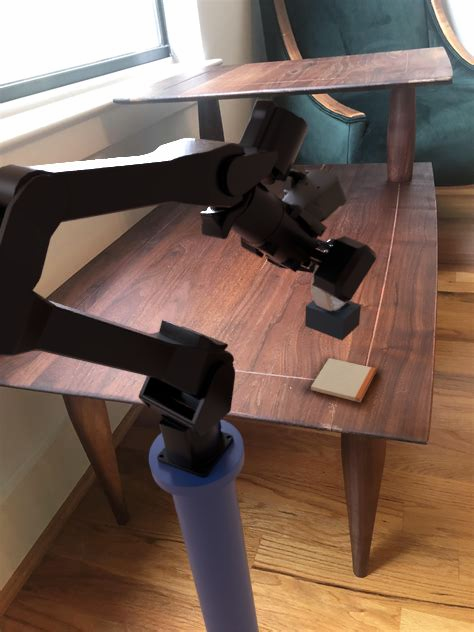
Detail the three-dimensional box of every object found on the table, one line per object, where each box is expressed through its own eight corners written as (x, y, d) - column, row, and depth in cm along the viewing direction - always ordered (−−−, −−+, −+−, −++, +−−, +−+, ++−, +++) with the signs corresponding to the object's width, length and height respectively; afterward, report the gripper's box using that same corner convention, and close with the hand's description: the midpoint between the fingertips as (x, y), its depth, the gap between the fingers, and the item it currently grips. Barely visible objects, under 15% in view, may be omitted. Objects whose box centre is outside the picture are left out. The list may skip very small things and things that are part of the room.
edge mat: (360, 402, 66) (360, 398, 66) (311, 390, 69) (310, 386, 68) (376, 371, 70) (376, 368, 70) (329, 361, 73) (329, 357, 73)
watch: (366, 318, 72) (374, 242, 66) (334, 347, 67) (339, 268, 61) (329, 305, 76) (334, 232, 70) (296, 332, 70) (298, 255, 64)
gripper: (365, 170, 51) (434, 244, 61) (252, 140, 65) (324, 205, 75) (302, 272, 52) (381, 328, 62) (204, 221, 66) (282, 274, 76)
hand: (339, 277), depth 69 cm, fingers closed on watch, 5 cm apart
